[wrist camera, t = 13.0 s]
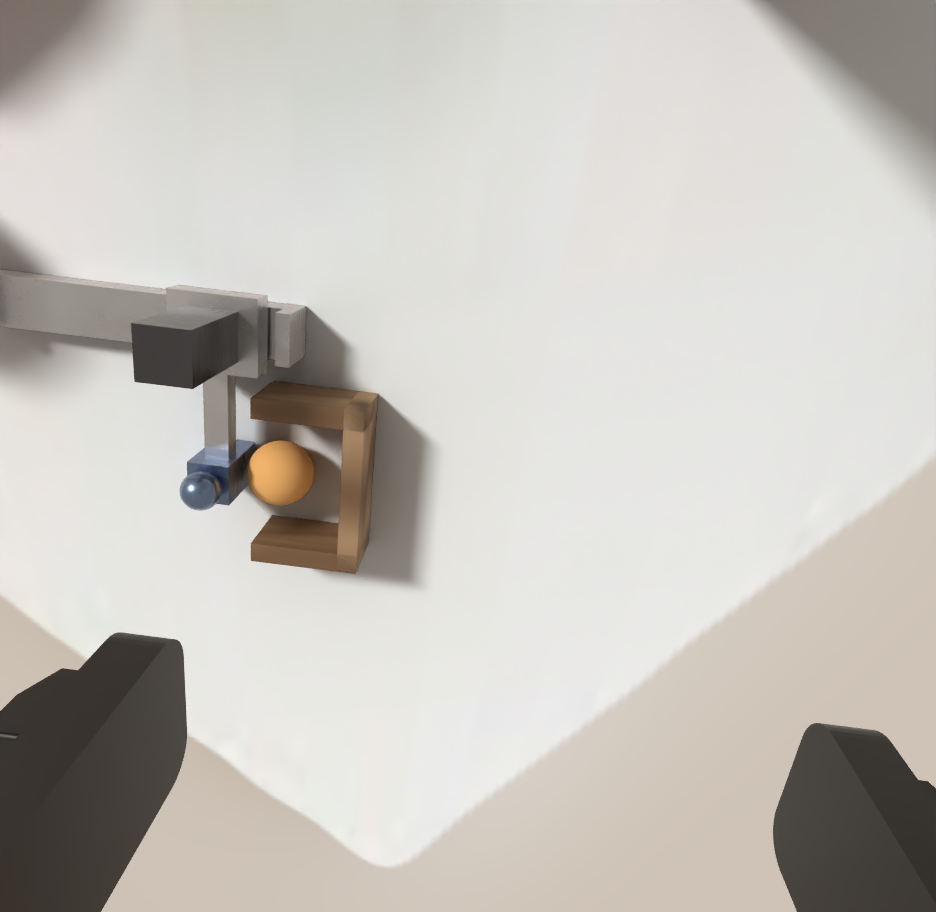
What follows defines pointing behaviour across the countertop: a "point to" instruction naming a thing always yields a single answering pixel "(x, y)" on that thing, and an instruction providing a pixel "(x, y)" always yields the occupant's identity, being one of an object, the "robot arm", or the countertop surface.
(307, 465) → the ball
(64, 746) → the robot arm
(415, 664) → the countertop surface
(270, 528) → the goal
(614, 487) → the countertop surface
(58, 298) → the rail
